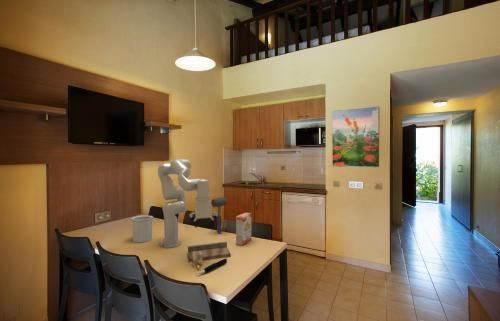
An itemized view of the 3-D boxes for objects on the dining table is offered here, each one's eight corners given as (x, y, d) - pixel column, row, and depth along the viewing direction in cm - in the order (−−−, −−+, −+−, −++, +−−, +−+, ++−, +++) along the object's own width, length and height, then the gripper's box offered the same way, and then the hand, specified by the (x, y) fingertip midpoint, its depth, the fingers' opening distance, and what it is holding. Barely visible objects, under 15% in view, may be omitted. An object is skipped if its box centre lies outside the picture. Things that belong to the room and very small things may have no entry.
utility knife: (199, 278, 124) (199, 272, 124) (194, 275, 126) (194, 270, 126) (227, 263, 140) (227, 258, 140) (222, 261, 143) (222, 256, 143)
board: (188, 262, 142) (188, 253, 142) (187, 253, 156) (187, 245, 156) (230, 256, 150) (230, 248, 150) (226, 248, 163) (226, 241, 163)
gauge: (194, 271, 131) (193, 258, 131) (193, 263, 141) (192, 251, 141) (203, 270, 132) (202, 257, 132) (201, 261, 143) (201, 250, 143)
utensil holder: (142, 235, 193) (142, 214, 193) (157, 237, 188) (156, 215, 188) (127, 241, 180) (127, 218, 179) (142, 244, 174) (142, 220, 174)
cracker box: (243, 246, 168) (242, 217, 168) (235, 244, 170) (235, 216, 170) (251, 240, 180) (251, 212, 180) (245, 238, 183) (244, 212, 183)
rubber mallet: (216, 235, 191) (215, 199, 191) (210, 233, 196) (210, 198, 196) (227, 232, 200) (227, 197, 200) (222, 230, 205) (221, 196, 205)
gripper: (188, 201, 140) (189, 229, 140) (217, 199, 143) (218, 227, 143) (189, 199, 148) (190, 226, 148) (217, 197, 151) (217, 224, 151)
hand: (204, 226), depth 145 cm, fingers open, 9 cm apart
